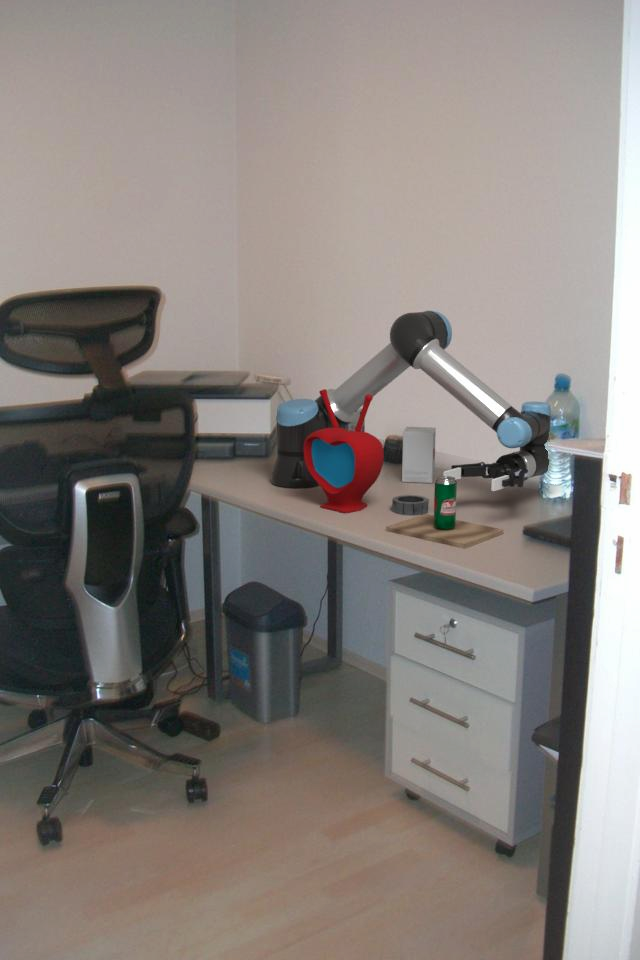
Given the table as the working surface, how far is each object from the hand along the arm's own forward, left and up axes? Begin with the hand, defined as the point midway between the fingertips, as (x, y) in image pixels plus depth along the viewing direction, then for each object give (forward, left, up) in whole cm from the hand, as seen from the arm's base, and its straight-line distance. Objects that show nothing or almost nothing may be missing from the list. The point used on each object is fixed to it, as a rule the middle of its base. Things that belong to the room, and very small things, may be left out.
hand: (468, 481), depth 227 cm
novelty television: (-33, -7, -11) cm, 35 cm away
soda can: (0, -10, -10) cm, 14 cm away
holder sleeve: (-18, +1, -11) cm, 21 cm away
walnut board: (0, -10, -11) cm, 14 cm away
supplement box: (-38, +32, -11) cm, 51 cm away
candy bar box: (-74, +42, -11) cm, 86 cm away
